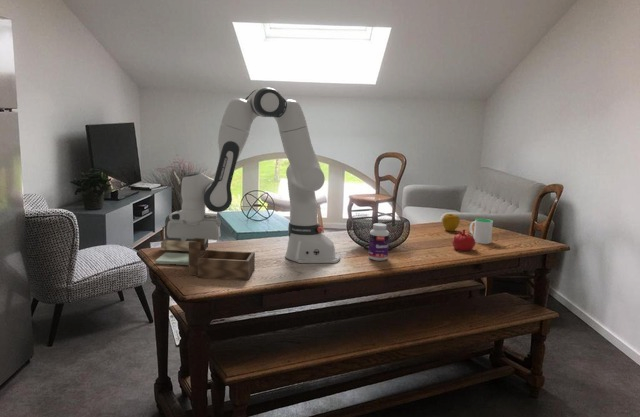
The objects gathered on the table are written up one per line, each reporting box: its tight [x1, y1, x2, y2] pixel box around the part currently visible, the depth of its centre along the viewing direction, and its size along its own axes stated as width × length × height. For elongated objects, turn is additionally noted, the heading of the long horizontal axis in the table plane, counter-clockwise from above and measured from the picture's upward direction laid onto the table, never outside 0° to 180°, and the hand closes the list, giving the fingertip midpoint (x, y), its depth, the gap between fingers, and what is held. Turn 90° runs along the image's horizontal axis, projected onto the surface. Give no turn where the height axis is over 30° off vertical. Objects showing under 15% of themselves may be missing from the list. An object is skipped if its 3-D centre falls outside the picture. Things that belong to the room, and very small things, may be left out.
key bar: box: [160, 239, 195, 252], centre depth 194 cm, size 12×4×3 cm, turn 87°
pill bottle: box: [367, 222, 390, 262], centre depth 220 cm, size 8×8×14 cm
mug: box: [468, 218, 494, 245], centre depth 257 cm, size 12×8×10 cm
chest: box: [188, 238, 256, 281], centre depth 194 cm, size 22×12×12 cm, turn 87°
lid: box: [154, 252, 189, 266], centre depth 208 cm, size 17×11×6 cm, turn 87°
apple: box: [442, 213, 460, 232], centre depth 277 cm, size 9×8×9 cm
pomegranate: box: [451, 229, 476, 252], centre depth 240 cm, size 10×10×9 cm
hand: (194, 249), depth 208 cm, fingers open, 4 cm apart
